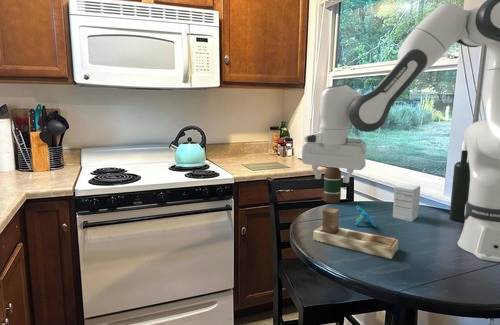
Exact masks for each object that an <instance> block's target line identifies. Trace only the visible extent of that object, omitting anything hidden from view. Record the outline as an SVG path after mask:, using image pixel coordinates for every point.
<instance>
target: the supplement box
mask: <svg viewBox="0 0 500 325" xmlns="http://www.w3.org/2000/svg"><path fill="white" fill-rule="evenodd" d="M420 197H421V185H417V184H411V183H403V182H401V183H398V184H396V185H394V193H393V206H392V218H393V219H394V218H395V219H398V220H402V221H408V222H411V223H412V222H413V221H415V220H416V219H418V218H419V210H420Z"/></svg>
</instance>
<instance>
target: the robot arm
mask: <svg viewBox="0 0 500 325" xmlns="http://www.w3.org/2000/svg"><path fill="white" fill-rule="evenodd" d="M456 43H458V44H460V45H462V46H463V47H468V48H478V47H482V46H485V47H486V48H487V51H488V54H489V55H488V57H489V61H488V64H487V69H486V72H485V73H486V74H485V80H484V83H483V84H484V86H483V90H482V91H483V92H482V101H483V105H484V107H485V116H486V117H485V118H486V119H481V120H478V121H475V122H473V123H471V124H470V125H468V126H467V128H466V129H465V130H464V132H463V141H464V142H465V144H466V146H467V151H468V157H467V160H468V163H469V167H470V186H469V197H468V200H467V202H466V205H465V215H464V216H465V222H463V227H462V231H461V234H460V236H459V239H458V240H457V245H458V247H459V248H460V249H462V250H463V251H465V252H468V253H471V254H472V255H474V256H475V257H477V258H478V259H480V260H484V261H488V262H497V263H500V0H485V1H483V2H481V3H478V4H476V5H475V6H473V7H472V8H471V9H468V10H467V9H465V8H463V7H462V6H460V5H458V4H456V3H452V2H446V3H443V4H440V5H439V6H438V7H436V8H435V9H433V10H432V11H431V12H430V13H428V15H426V16H425V17H424V18H423V19H422V20H421V21H420V22H419V23H418V24H417V25H416V27H415V28H413V29H412V31H411V32H409V34H408V35H407V37H406V38H405V40H403V42H402V44H401V46H400V47H399V48H398V52H397V61H396V63H395V65H394V66H393V67H392V69H391V70H390V72H388V73H387V75H386V76H385V77H383V79H382V80H381V81H380V83H379V84H378V85H377V86H376V87H375V88H374V89H373V90H372V91H370V92H369V93H367V94H363V93H362V92H359V91H357V90H355V89H353V88H352V87H350V86H349V85H347V84H344V83H343V84H342V83H341V84H336V85H331V86H328V87H326V88H324V90H322V93H321V96H320V102H319V103H320V104H319V116H320V124H319V128H318V129H319V131H317V132H313V133H312V134H308V135H305V136H304V144H303V146H302V149H301V150H302V151H301V163H303V164H304V165H310V166H311V170H312V171H313V172H314V179H317V180H320V179H321V178H322V173H321V172H320V171H319V169H318V168H319V167H327V168H328V167H335V168H339V169H346V173H347V174H346V176H345V175H344V176H342V183H346V184H349V183H350V177H351V176H352V174H353V172H354V171H361V170H363V169H364V168H365V167H366V152H367V143H366V142H365V141H364V140H363V139H360V138H349V126H353V127H354V128H355V129H356V130H358V131H359V132H360V131H361V132H363V133H365V132H366V133H368V132H370V133H371V132H374V131H376V130H378V129H379V128H381V127H382V126H383V125H384V124H385V123H386V121H387V119H388V116H389V113H390V111H391V109H392V106H393V105H394V103H395V102H396V100H397V99H399V97H400V96H402V94H403V93H404V92H405V91H406V89H407V88H408V87H410V85H411V84H412V83H413V82H414V81H415V80H416V79H417V78H418V77H419V76H420V75H422V74H423V73H424V72H425V71H427V70H429V68H431V67H432V66H433V65H434V64H436V63H437V62H438V61H439V60H440V59H441V58H442V56H444V54H446V52H447V51H448V50H449V49H451V47H452V46H453V45H454V44H456Z"/></svg>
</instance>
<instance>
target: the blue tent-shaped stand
mask: <svg viewBox="0 0 500 325" xmlns="http://www.w3.org/2000/svg"><path fill="white" fill-rule="evenodd" d="M355 208H356V209H357V210H358V212H360V214H359V217H358V218H357V219H356V220H355V222H356V223H355V225H356V226H357V227H358V226H359V225H360V224H361V223H363V222H365V221H367V222H369V224H371V225H372V226H373V227H374V228H376V227H378V225H377V223H376V221H374V220H373V219H372V217H370V214H369V213H366V211H365V210H364V209H362V208H361V207H360V206H359V205H356V206H355Z"/></svg>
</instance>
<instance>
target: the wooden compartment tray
mask: <svg viewBox="0 0 500 325" xmlns="http://www.w3.org/2000/svg"><path fill="white" fill-rule="evenodd" d="M312 233H313V236H312V237H313V238H312V240H313V241H315V240H316V242H319V241H320V243H323V242H324V244H328V245H332V246H336V247H340V248H344V249H349V250H353V251H356V252H360V253H361V252H362V253H365V254H369V255H374V256H377V257H383V258H384V259H385V258H386V259H390V260H391V259H392V258H393V257H394V256H395V254H396V253H397V251H398V250H399V248H398V247H399V239H396V238H393V237H389V236H388V237H387V236H382V235H379V234H372V233H368V232H362V231H357V230H353V229H349V228H342V227H339V232H338V233H337V234H336V235H334V234H329V233H325V232H322V225H320V226H319V227H318V228H316V229H314V230H313V232H312Z"/></svg>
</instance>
